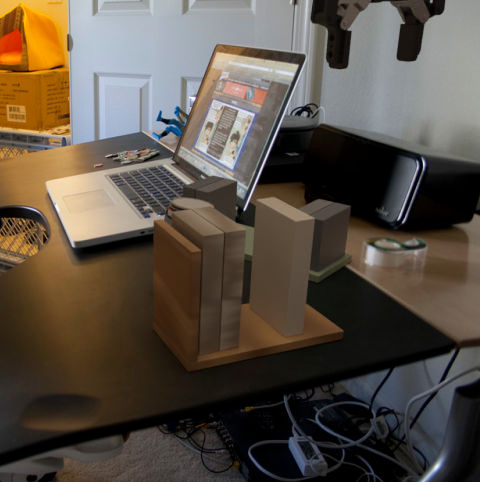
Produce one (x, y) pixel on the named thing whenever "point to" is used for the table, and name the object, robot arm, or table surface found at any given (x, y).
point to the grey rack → (325, 212)
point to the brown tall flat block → (281, 265)
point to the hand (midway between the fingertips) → (372, 64)
